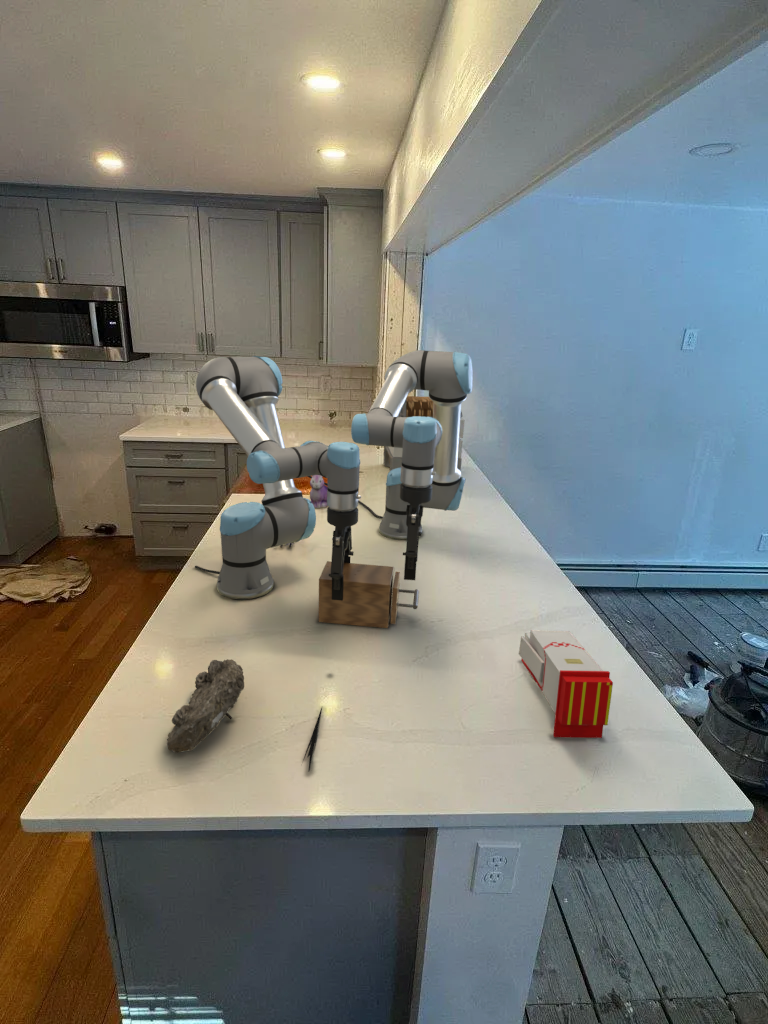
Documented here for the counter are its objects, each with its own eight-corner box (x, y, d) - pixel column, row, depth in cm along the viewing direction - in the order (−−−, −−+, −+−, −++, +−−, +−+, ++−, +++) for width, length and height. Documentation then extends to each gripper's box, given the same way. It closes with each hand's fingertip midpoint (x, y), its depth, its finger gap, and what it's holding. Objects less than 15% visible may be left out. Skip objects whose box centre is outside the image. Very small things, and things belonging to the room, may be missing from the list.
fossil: (192, 660, 117) (244, 628, 112) (224, 691, 120) (276, 661, 115) (142, 746, 98) (202, 712, 93) (182, 779, 101) (242, 748, 96)
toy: (565, 614, 131) (622, 678, 102) (559, 667, 134) (613, 744, 105) (513, 613, 131) (555, 677, 102) (509, 666, 134) (548, 744, 104)
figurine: (313, 510, 219) (313, 472, 214) (304, 501, 227) (304, 465, 222) (335, 507, 223) (336, 470, 218) (326, 499, 231) (326, 463, 226)
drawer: (417, 607, 149) (420, 573, 146) (416, 626, 140) (418, 590, 137) (337, 600, 151) (338, 566, 147) (331, 618, 142) (331, 582, 139)
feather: (331, 679, 122) (336, 673, 122) (307, 777, 96) (313, 769, 95) (324, 675, 122) (329, 669, 121) (298, 772, 95) (304, 764, 95)
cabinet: (391, 607, 151) (393, 566, 146) (387, 628, 141) (390, 585, 137) (326, 601, 152) (327, 561, 148) (318, 622, 142) (318, 578, 138)
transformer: (382, 463, 289) (386, 382, 275) (445, 464, 293) (451, 384, 279) (390, 482, 257) (394, 392, 243) (460, 483, 261) (468, 394, 247)
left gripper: (350, 525, 126) (348, 612, 133) (364, 493, 147) (361, 570, 155) (317, 522, 126) (317, 610, 134) (335, 491, 148) (334, 568, 155)
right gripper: (431, 500, 122) (424, 592, 130) (433, 472, 143) (427, 552, 151) (396, 497, 123) (391, 589, 130) (403, 470, 144) (399, 550, 151)
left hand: (341, 588), depth 144 cm, fingers closed on cabinet, 10 cm apart
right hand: (410, 569), depth 140 cm, fingers open, 10 cm apart
